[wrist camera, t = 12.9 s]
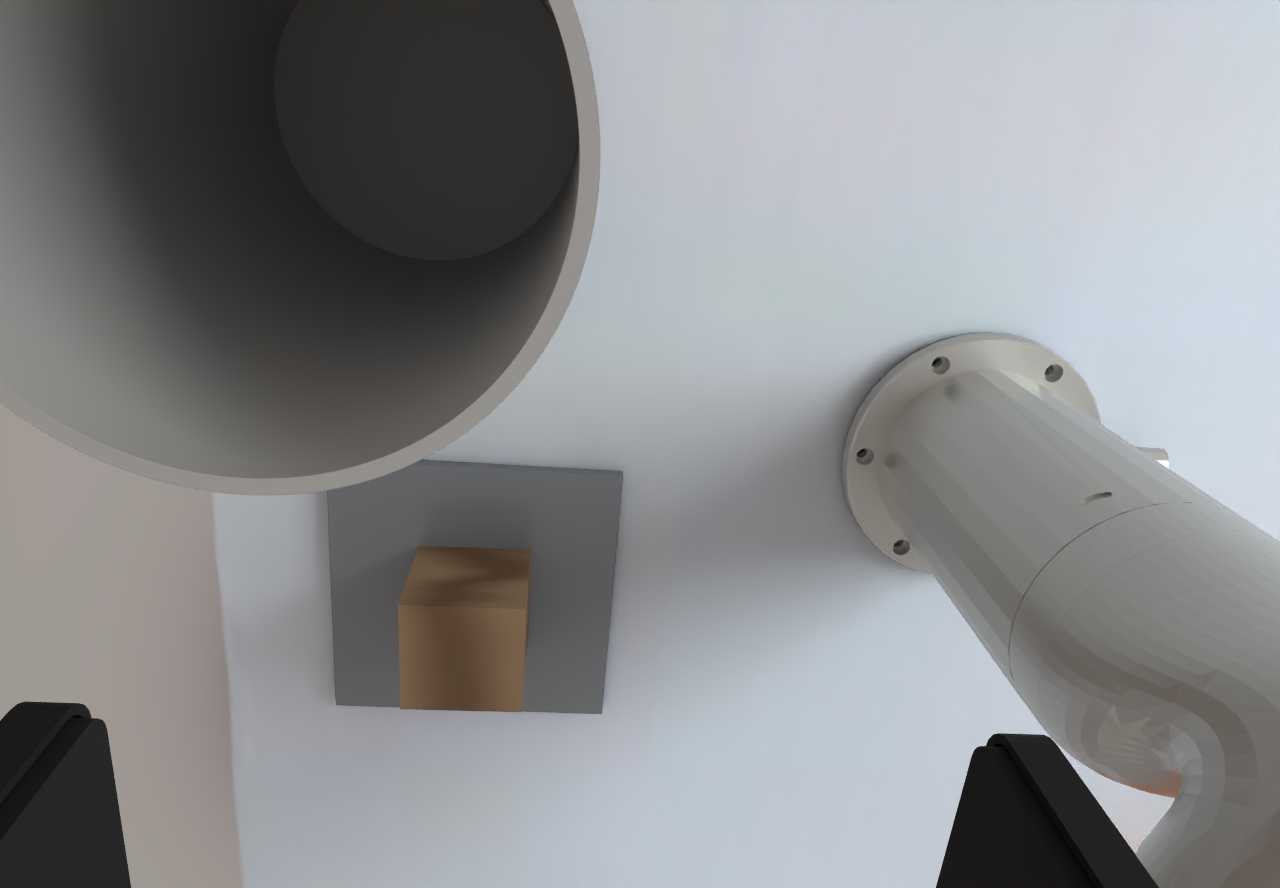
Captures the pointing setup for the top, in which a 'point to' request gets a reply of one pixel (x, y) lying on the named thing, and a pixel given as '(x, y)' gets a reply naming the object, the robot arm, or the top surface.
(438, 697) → the walnut block
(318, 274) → the cylinder vase
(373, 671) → the slate coaster
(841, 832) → the top surface
